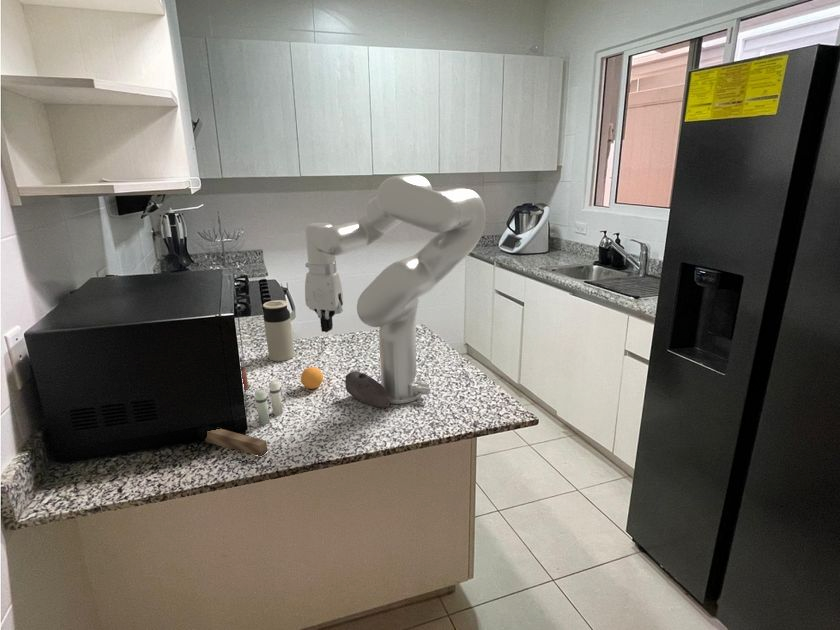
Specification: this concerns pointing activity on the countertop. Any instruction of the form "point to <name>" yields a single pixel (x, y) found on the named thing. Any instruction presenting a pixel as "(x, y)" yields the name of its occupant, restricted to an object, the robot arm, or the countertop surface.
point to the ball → (311, 377)
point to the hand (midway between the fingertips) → (327, 330)
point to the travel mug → (278, 330)
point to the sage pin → (262, 407)
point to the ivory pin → (276, 397)
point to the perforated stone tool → (366, 389)
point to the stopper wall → (237, 441)
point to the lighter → (244, 375)
